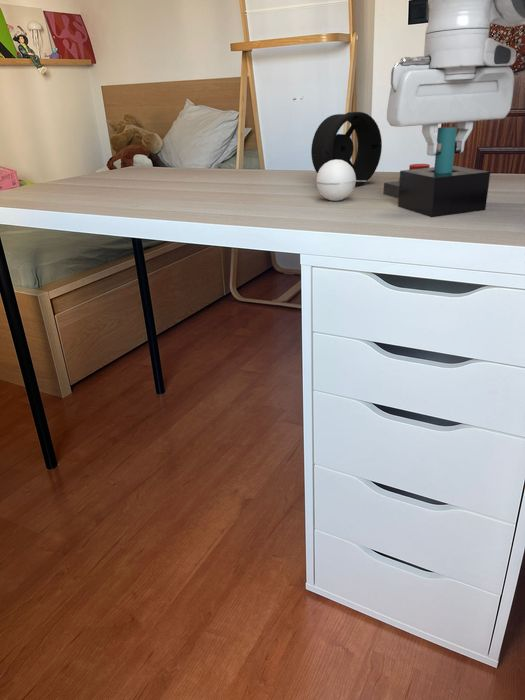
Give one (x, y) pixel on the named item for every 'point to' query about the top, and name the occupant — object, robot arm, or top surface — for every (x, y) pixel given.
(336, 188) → the seamed sphere
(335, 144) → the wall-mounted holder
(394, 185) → the block
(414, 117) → the robot arm
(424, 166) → the power button
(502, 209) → the top surface
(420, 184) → the black block with hole
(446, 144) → the teal and grey cylinder
